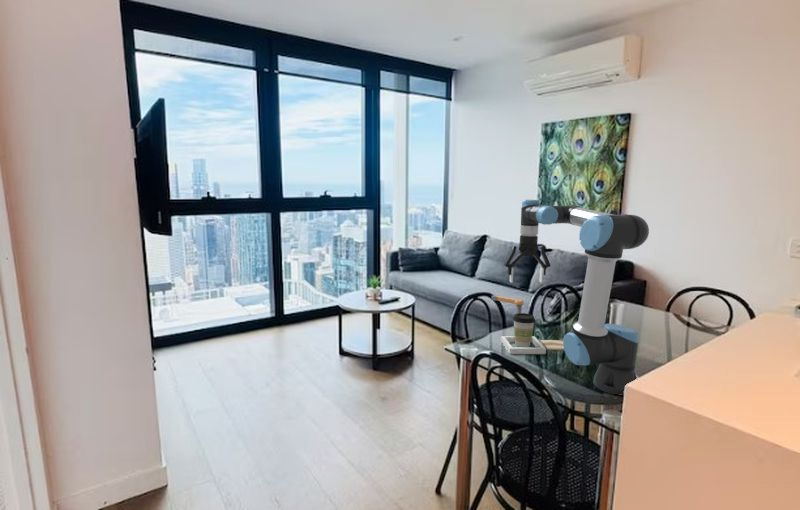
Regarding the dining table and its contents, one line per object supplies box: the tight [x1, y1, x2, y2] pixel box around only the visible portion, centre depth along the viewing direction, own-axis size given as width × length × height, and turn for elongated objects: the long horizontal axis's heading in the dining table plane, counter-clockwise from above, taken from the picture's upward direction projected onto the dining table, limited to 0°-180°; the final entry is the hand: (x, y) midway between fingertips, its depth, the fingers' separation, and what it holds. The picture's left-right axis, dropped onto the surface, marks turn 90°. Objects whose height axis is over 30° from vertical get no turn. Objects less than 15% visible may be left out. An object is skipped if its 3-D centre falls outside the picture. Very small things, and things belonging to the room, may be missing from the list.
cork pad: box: [539, 339, 565, 352], centre depth 209 cm, size 12×12×1 cm
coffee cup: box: [512, 312, 536, 347], centre depth 205 cm, size 10×10×15 cm
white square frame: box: [500, 305, 547, 355], centre depth 206 cm, size 18×16×18 cm
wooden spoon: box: [490, 294, 525, 306], centre depth 215 cm, size 16×4×2 cm, turn 51°
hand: (526, 282), depth 201 cm, fingers open, 13 cm apart
